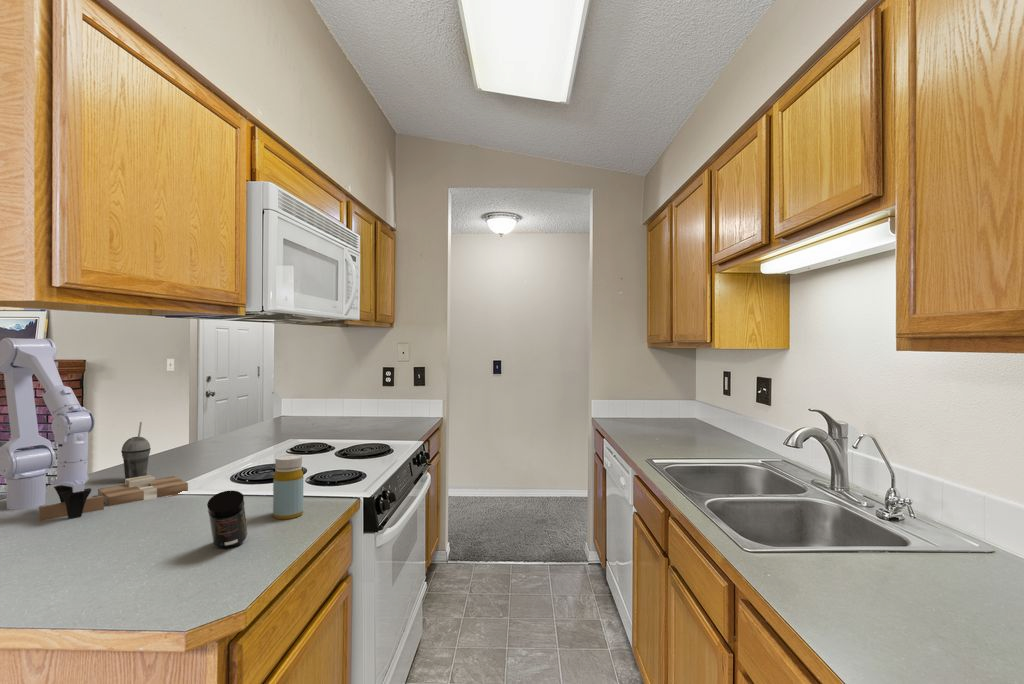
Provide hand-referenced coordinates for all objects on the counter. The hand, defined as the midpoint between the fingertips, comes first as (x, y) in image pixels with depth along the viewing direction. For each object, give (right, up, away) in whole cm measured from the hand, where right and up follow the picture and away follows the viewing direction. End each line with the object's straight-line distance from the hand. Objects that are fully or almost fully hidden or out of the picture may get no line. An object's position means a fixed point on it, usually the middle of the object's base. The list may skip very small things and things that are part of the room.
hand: (72, 516), depth 124 cm
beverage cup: (-6, -2, +30) cm, 30 cm away
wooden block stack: (+5, -2, +17) cm, 18 cm away
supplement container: (+47, -2, -16) cm, 50 cm away
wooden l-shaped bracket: (-3, -1, +3) cm, 4 cm away
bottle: (+51, -2, +5) cm, 51 cm away
